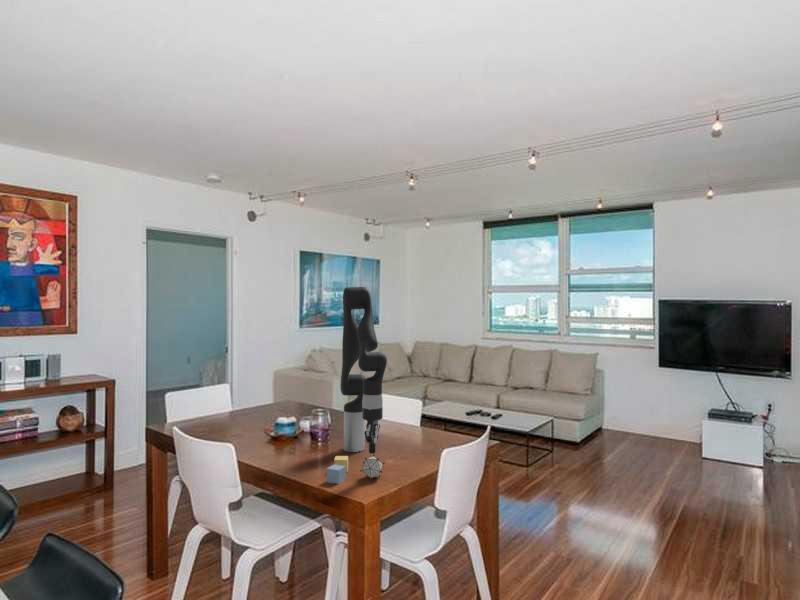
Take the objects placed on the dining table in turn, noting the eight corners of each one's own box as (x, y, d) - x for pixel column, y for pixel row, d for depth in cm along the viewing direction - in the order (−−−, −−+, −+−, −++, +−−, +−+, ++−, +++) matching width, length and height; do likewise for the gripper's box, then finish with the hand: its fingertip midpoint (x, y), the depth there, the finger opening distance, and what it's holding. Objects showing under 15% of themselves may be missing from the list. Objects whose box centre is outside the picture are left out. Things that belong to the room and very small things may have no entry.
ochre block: (335, 468, 193) (335, 456, 194) (348, 468, 194) (348, 455, 194) (334, 473, 188) (334, 460, 189) (347, 473, 189) (347, 459, 189)
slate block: (333, 477, 183) (333, 464, 183) (345, 479, 181) (345, 466, 181) (326, 482, 179) (326, 468, 179) (338, 484, 177) (338, 470, 177)
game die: (368, 489, 182) (352, 469, 180) (372, 473, 190) (357, 454, 187) (387, 480, 179) (372, 459, 177) (391, 464, 187) (376, 445, 185)
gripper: (367, 402, 191) (367, 447, 190) (357, 409, 178) (357, 457, 177) (386, 403, 189) (386, 448, 189) (377, 410, 176) (377, 458, 176)
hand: (372, 452), depth 183 cm, fingers closed
